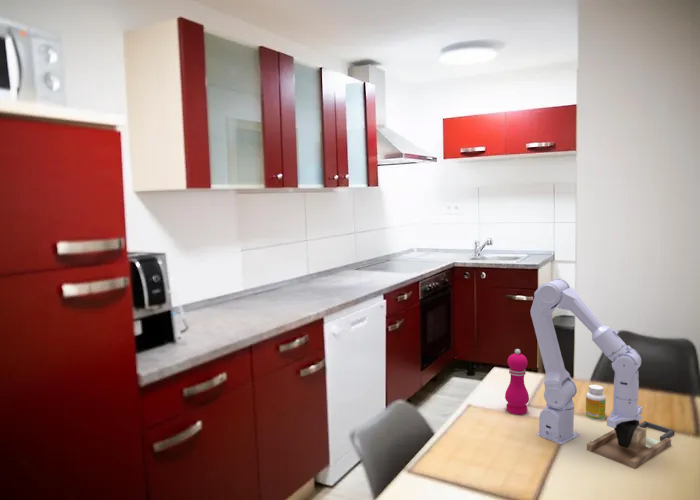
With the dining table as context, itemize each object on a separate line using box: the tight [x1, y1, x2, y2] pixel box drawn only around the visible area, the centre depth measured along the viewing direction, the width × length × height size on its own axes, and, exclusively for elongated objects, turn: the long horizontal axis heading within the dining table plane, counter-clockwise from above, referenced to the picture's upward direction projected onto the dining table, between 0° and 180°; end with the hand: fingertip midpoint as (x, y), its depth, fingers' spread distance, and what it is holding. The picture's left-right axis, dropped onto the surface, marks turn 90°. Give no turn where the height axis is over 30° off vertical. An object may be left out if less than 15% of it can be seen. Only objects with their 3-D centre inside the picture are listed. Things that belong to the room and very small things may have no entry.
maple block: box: [618, 426, 647, 452], centre depth 142 cm, size 5×5×5 cm
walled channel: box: [586, 428, 672, 470], centre depth 142 cm, size 20×12×2 cm, turn 126°
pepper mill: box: [504, 348, 530, 415], centre depth 167 cm, size 7×7×20 cm
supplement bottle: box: [585, 384, 607, 421], centre depth 161 cm, size 5×5×10 cm
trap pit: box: [638, 421, 675, 441], centre depth 150 cm, size 7×8×2 cm
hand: (624, 446), depth 140 cm, fingers closed
